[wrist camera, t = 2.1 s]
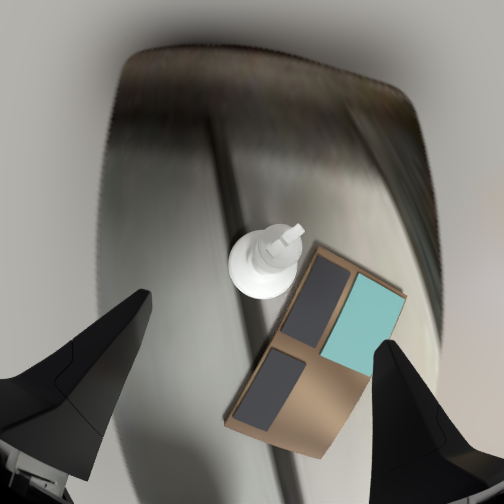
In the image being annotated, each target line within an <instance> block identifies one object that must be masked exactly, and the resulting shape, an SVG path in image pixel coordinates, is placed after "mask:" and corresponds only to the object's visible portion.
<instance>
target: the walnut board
mask: <svg viewBox="0 0 504 504" xmlns="http://www.w3.org/2000/svg"><path fill="white" fill-rule="evenodd" d="M318 255H319V256H321V257H323V258H324V259H326V260H328V261H330V262H332V263H334V264H335V265H337V266H339V267H341V268H343V269H344V270H346V271H348V272H350V273H351V274H350V277H349V279H348V281H347V284H346V286H345V288H344V290H343V292H342V295H341V297H340V299H339V301H338V303H337V305H336V308H335V310H334V312H333V314H332V316H331V318H330V320H329V322H328V324H327V326H326V328H325V330H324V332H323V334H322V336H321V338H320V340H319V342H318V344H317V346H316V348H313V347H311V346H309V345H307V344H305V343H302V342H300V341H298V340H296V339H294V338H292V337H290V336H288V335H286V334H284V333H281V332H280V331H281V329H282V327H283V325H284V324H285V322H286V320H287V318H288V316H289V314H290V312H291V310H292V308H293V306H294V304H295V302H296V300H297V298H298V296H299V294H300V292H301V290H302V288H303V286H304V284H305V282H306V280H307V278H308V275H309V273H310V271H311V269H312V267H313V265H314V263H315V261H316V259H317V256H318ZM358 273H360V274H362V275H363V276H365V277H367V278H369V279H370V280H372V281H374V282H376V283H377V284H379V285H381V286H383V287H384V288H386V289H388V290H390V291H391V292H393V293H395V294H397V295H398V296H400V297H402V298H403V299H405V301H406V298H407V295H405V294H403V293H402V292H400V291H398V290H396V289H395V288H393V287H391V286H390V285H388V284H386V283H384V282H383V281H381V280H379V279H377V278H376V277H374V276H372V275H371V274H369V273H367V272H365V271H364V270H362V269H360V268H358V267H356V266H355V265H353V264H351V263H349V262H348V261H346V260H344V259H342V258H340V257H339V256H337V255H335V254H333V253H331V252H330V251H328V250H326V249H324V248H322V247H320V246H318V247H317V249H316V251H315V253H314V255H313V257H312V259H311V261H310V263H309V265H308V268H307V270H306V272H305V274H304V276H303V278H302V280H301V282H300V284H299V286H298V288H297V290H296V292H295V294H294V296H293V298H292V300H291V302H290V304H289V306H288V308H287V310H286V312H285V314H284V316H283V318H282V320H281V322H280V324H279V326H278V328H277V329H276V331H275V333H274V335H273V337H272V339H271V341H270V343H269V345H268V346H267V348H266V350H265V352H264V354H263V356H262V358H261V359H260V361H259V363H258V365H257V367H256V368H255V370H254V372H253V374H252V376H251V377H250V379H249V381H248V383H247V385H246V386H245V388H244V390H243V392H242V393H241V395H240V397H239V398H238V400H237V402H236V404H235V405H234V407H233V409H232V410H231V412H230V414H229V416H228V417H227V419H226V421H225V422H224V426H225V427H228V428H230V429H232V430H235V431H237V432H240V433H242V434H245V435H247V436H250V437H252V438H255V439H258V440H260V441H263V442H266V443H269V444H272V445H274V446H277V447H280V448H283V449H287V450H290V451H293V452H296V453H299V454H303V455H306V456H310V457H313V458H317V459H321V458H322V457H323V455H324V454H325V452H326V451H327V450H328V448H329V447H330V445H331V444H332V442H333V441H334V439H335V438H336V436H337V435H338V433H339V431H340V430H341V428H342V427H343V425H344V424H345V422H346V420H347V419H348V417H349V415H350V414H351V412H352V410H353V409H354V407H355V405H356V404H357V402H358V400H359V398H360V397H361V395H362V393H363V391H364V389H365V388H366V386H367V384H368V382H369V380H370V378H371V377H369V376H367V375H365V374H362V373H360V372H357V371H355V370H353V369H350V368H348V367H346V366H343V365H341V364H339V363H336V362H334V361H332V360H330V359H327V358H325V357H323V356H321V355H320V353H321V351H322V349H323V347H324V345H325V343H326V341H327V339H328V337H329V335H330V333H331V331H332V329H333V327H334V325H335V323H336V321H337V319H338V317H339V315H340V313H341V311H342V308H343V306H344V304H345V302H346V300H347V298H348V295H349V293H350V291H351V289H352V286H353V284H354V282H355V279H356V277H357V275H358ZM405 301H404V303H405ZM403 306H404V304H403ZM403 306H402V308H403ZM401 311H402V309H401ZM401 311H400V313H401ZM399 316H400V314H399ZM399 316H398V318H399ZM397 321H398V319H397ZM397 321H396V323H397ZM395 325H396V324H395ZM394 328H395V326H394ZM394 328H393V330H394ZM393 330H392V332H393ZM391 335H392V333H391ZM391 335H390V337H391ZM390 337H389V339H390ZM271 348H272V349H275V350H277V351H279V352H281V353H283V354H285V355H287V356H290V357H292V358H294V359H296V360H298V361H301V362H303V363H305V364H307V365H306V367H305V368H304V370H303V372H302V374H301V376H300V378H299V379H298V381H297V383H296V385H295V386H294V388H293V390H292V392H291V393H290V395H289V397H288V398H287V400H286V402H285V403H284V405H283V407H282V408H281V410H280V412H279V413H278V415H277V417H276V418H275V420H274V421H273V423H272V425H271V426H270V428H269V429H268V431H267V432H266V431H263V430H261V429H258V428H255V427H253V426H250V425H248V424H246V423H243V422H241V421H238V420H236V419H234V418H233V415H234V414H235V412H236V410H237V409H238V407H239V405H240V404H241V402H242V400H243V398H244V397H245V395H246V393H247V391H248V390H249V388H250V386H251V384H252V383H253V381H254V379H255V377H256V376H257V374H258V372H259V370H260V368H261V367H262V365H263V363H264V361H265V359H266V357H267V356H268V354H269V352H270V350H271ZM372 374H373V373H372ZM371 376H372V375H371Z"/></svg>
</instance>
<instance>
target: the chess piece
mask: <svg viewBox="0 0 504 504" xmlns="http://www.w3.org/2000/svg"><path fill="white" fill-rule="evenodd" d="M304 232H305V230H304V229H303V228H302V227H301V226H300V224H299V223H298V224H297V225H295V226H294V227H293V228H292V227H290V226H288V225H285V224H274V225H271V226H269V227H267V228H266V229H265V230H256V231H252V232H250V233H248V234H246V235H244V236H243V237H241V238H240V239H239V240H238V241H237V242H236V243H235V245H234V246H233V248H232V250H231V252H230V255H229V260H228V268H229V274H230V277H231V279H232V281H233V283H234V284H235V286H236V287H237V288H238V289H239V290H240V291H241V292H243V293H244V294H246V295H248V296H250V297H253V298H257V299H269V298H273V297H276V296H278V295H280V294H282V293H283V292H284V291H286V290H287V289H288V288H289V286H290V285H291V284H292V282H293V280H294V278H295V276H296V273H297V266H298V263H297V260H298V259H299V258H300V256H301V253H302V240H301V237H300V235H302V234H303V233H304Z"/></svg>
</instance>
